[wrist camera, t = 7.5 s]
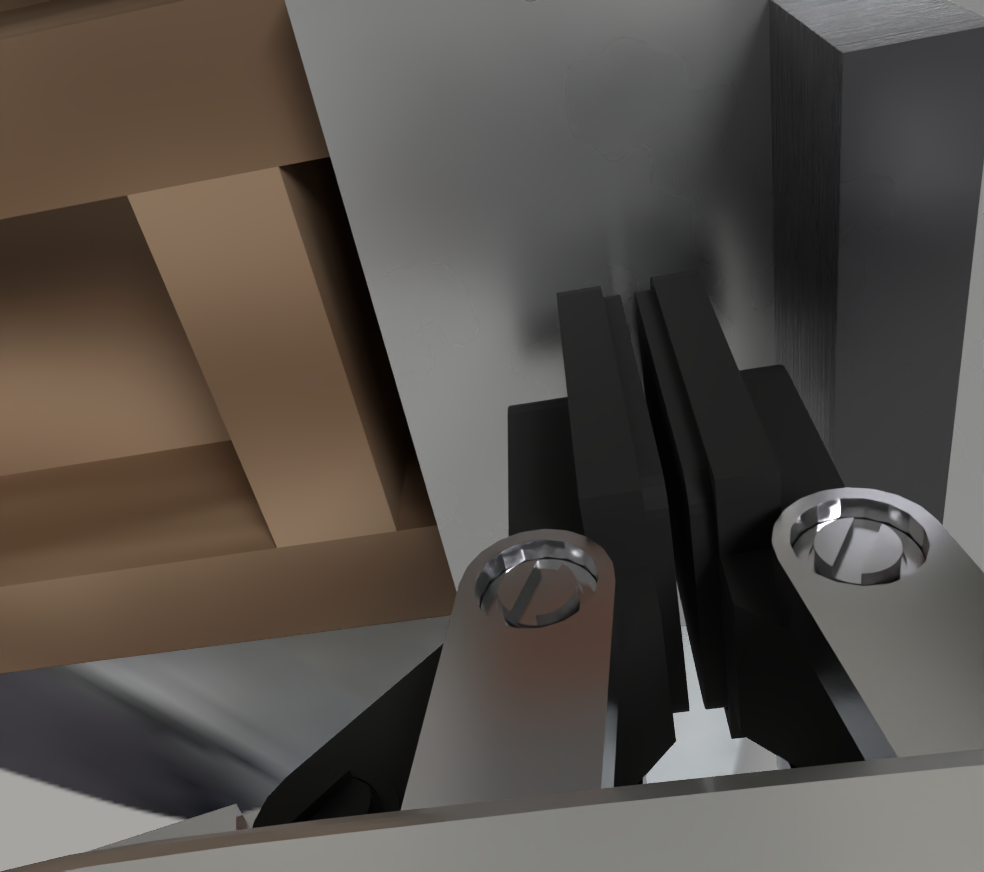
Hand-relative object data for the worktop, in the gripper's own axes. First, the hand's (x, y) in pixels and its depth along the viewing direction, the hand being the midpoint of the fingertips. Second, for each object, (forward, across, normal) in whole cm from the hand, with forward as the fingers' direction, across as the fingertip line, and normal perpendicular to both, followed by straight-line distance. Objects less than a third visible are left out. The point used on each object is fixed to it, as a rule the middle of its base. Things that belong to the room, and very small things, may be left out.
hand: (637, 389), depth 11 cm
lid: (+1, -2, 0) cm, 3 cm away
